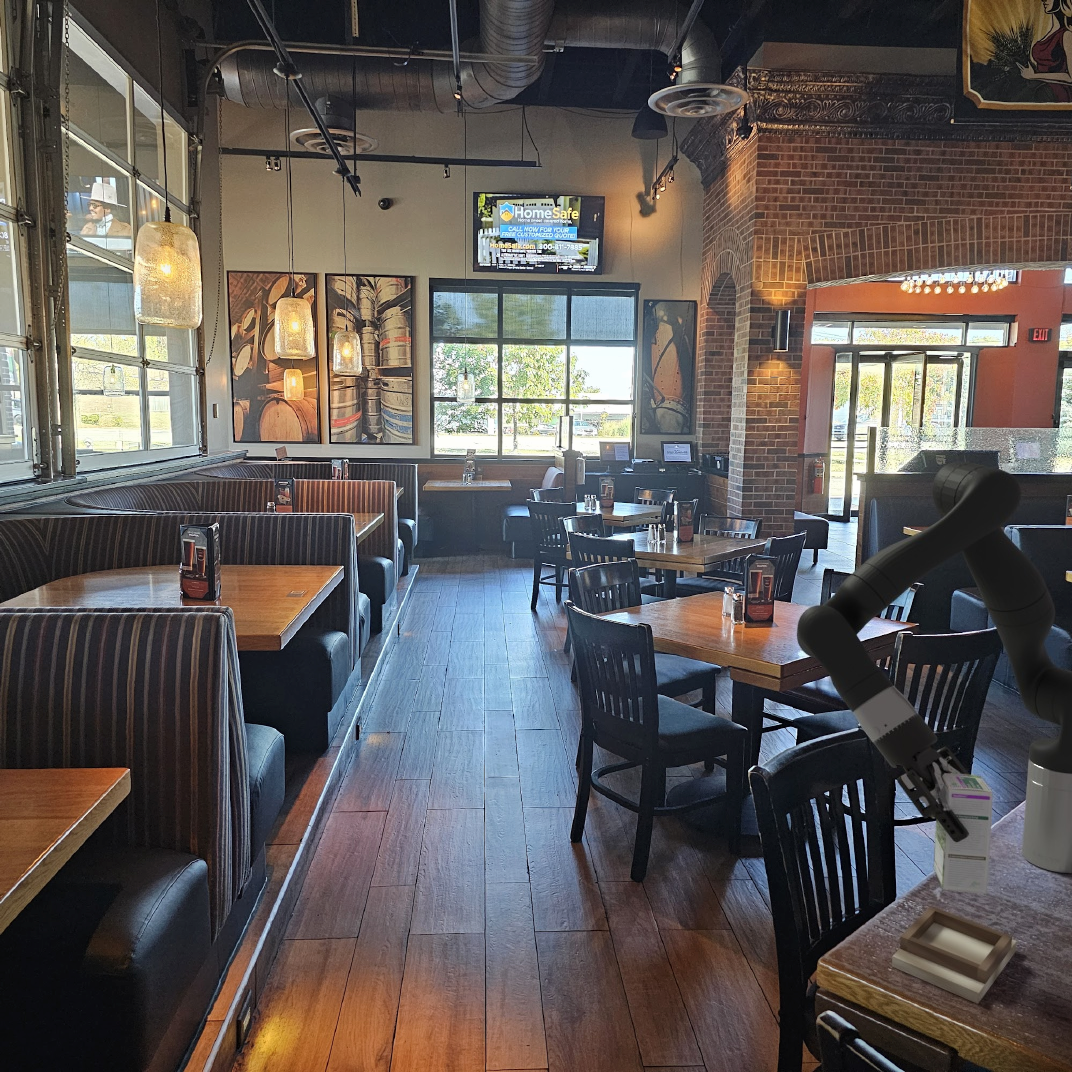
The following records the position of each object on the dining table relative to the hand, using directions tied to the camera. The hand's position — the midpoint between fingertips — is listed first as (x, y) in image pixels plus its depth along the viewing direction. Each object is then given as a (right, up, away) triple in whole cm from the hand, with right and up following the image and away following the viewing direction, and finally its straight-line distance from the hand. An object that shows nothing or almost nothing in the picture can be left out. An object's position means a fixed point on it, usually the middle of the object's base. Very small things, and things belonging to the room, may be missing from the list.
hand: (973, 828), depth 116 cm
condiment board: (-1, -19, +3) cm, 19 cm away
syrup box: (-1, -8, +2) cm, 8 cm away
